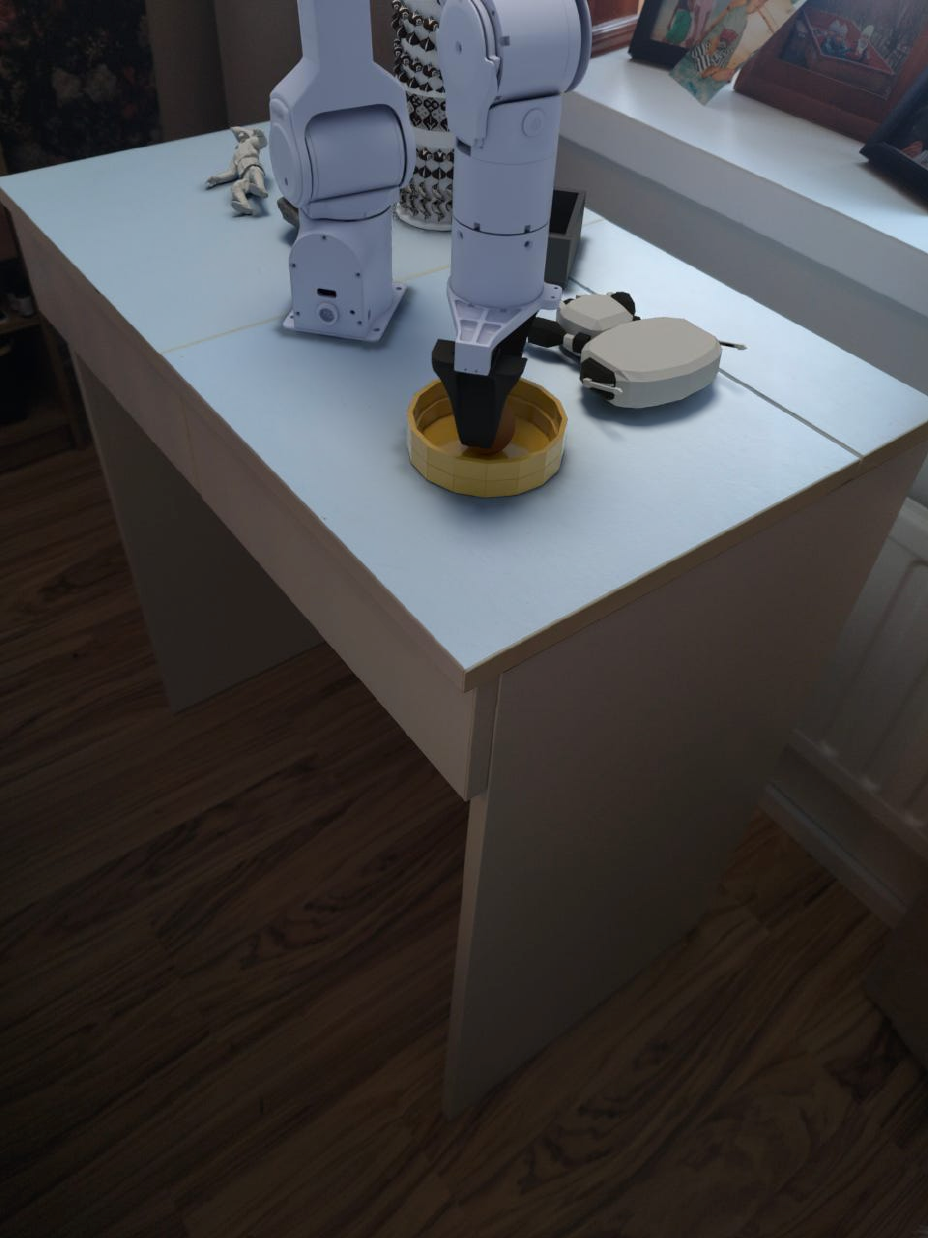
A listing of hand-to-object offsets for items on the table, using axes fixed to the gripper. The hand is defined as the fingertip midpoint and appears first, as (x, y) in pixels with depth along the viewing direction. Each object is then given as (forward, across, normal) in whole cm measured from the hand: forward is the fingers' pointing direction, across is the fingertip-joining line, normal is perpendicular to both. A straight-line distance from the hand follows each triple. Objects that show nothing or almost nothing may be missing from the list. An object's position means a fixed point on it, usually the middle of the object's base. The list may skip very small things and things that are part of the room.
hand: (488, 411), depth 69 cm
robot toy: (+4, +13, -8) cm, 16 cm away
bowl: (+3, 0, 0) cm, 3 cm away
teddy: (+3, 0, 0) cm, 3 cm away
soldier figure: (+3, +36, +31) cm, 48 cm away
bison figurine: (+4, +27, +20) cm, 34 cm away
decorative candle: (+4, +37, +12) cm, 39 cm away
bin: (+3, +30, +2) cm, 30 cm away
